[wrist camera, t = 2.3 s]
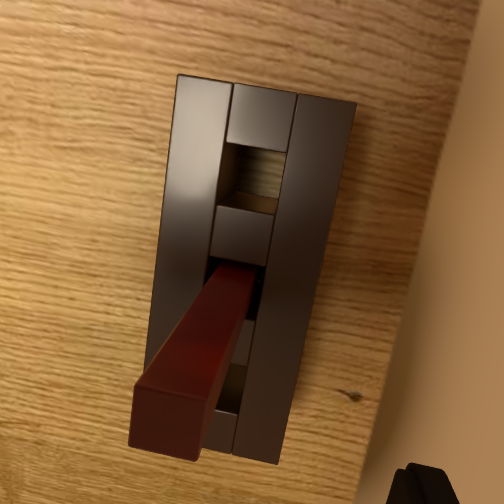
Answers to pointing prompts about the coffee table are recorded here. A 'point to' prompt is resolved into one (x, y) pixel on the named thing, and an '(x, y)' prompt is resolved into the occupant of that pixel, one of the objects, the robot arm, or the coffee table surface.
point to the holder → (248, 239)
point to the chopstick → (192, 366)
